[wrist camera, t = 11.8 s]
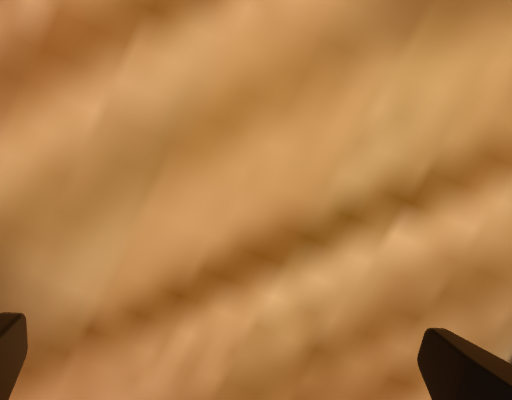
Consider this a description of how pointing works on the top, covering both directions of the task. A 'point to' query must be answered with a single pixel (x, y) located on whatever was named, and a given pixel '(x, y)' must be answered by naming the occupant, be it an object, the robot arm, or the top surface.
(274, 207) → the top surface
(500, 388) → the robot arm
